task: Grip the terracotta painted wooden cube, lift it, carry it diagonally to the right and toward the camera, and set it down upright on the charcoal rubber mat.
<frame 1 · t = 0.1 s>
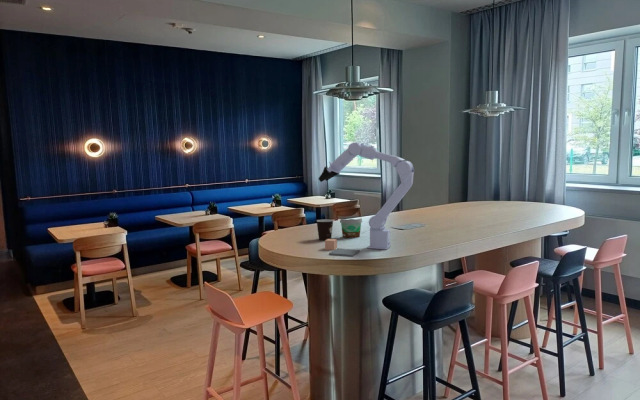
hand: (322, 179, 230), 32 cm above the table, tool tilted 50°, fingers open, 7 cm apart
cube: (331, 249, 222), on the table
mat: (344, 253, 212), on the table
food container: (352, 237, 250), on the table
coffee mug: (327, 239, 246), on the table
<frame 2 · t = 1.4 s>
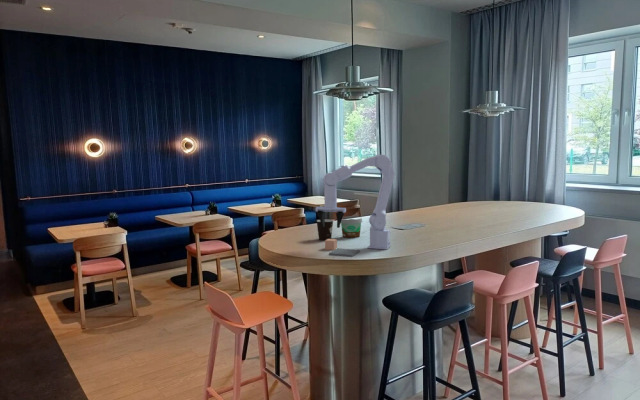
hand: (330, 227, 221), 10 cm above the table, tool pointing down, fingers open, 7 cm apart
nothing on the table moved.
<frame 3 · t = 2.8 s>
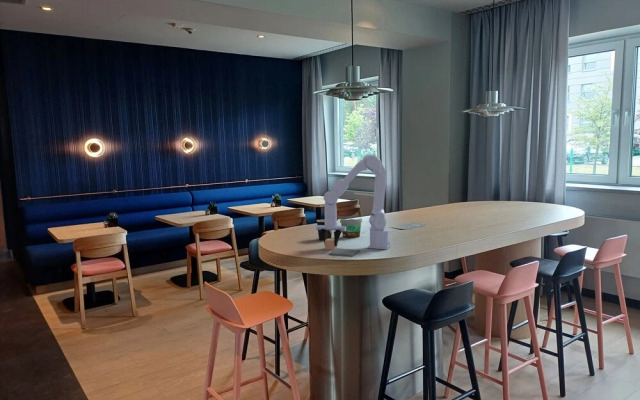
hand: (330, 245, 222), 2 cm above the table, tool pointing down, fingers closed on cube, 4 cm apart
cube: (331, 248, 222), on the table, touching gripper
everything else where it was.
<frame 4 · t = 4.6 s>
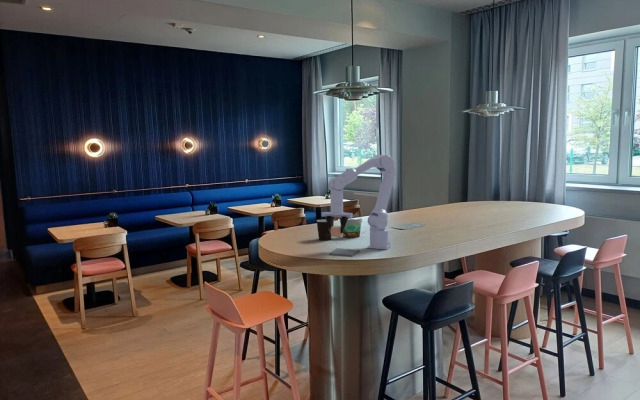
hand: (337, 232, 216), 9 cm above the table, tool pointing down, fingers closed on cube, 4 cm apart
cube: (337, 236, 217), point 7 cm above the table, touching gripper
everything else where it was.
when the fingers open (3 cm above the table, at t = 6.5 s): cube stays where it is, resting on mat.
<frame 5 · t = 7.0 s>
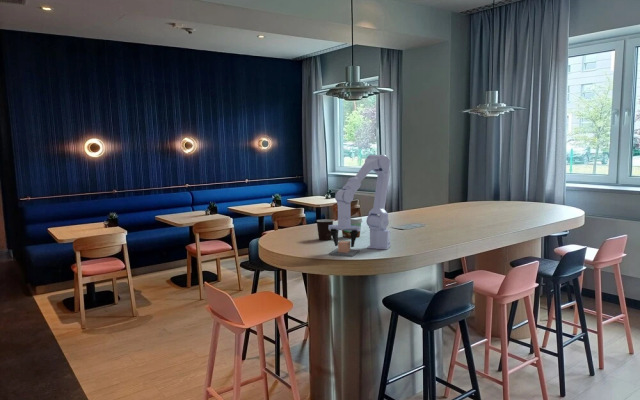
hand: (344, 246, 212), 3 cm above the table, tool pointing down, fingers open, 7 cm apart
cube: (344, 251, 212), point 1 cm above the table, touching mat
everything else where it was.
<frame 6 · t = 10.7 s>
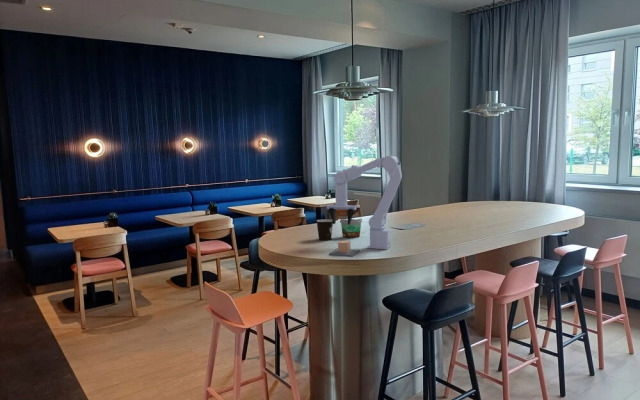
hand: (341, 224, 229), 10 cm above the table, tool pointing down, fingers open, 7 cm apart
nothing on the table moved.
at the end: cube inside the target area on the mat (0.1 cm from its centre), point 0.8 cm above the mat's base; cube tilted 0°; the gripper is holding nothing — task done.
